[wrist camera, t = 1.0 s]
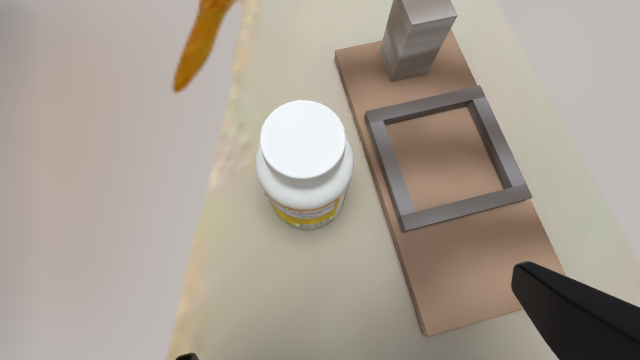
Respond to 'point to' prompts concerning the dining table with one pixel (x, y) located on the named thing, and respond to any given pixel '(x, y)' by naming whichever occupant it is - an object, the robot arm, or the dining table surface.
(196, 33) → the dining table surface
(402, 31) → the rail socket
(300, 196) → the supplement bottle
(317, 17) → the dining table surface
